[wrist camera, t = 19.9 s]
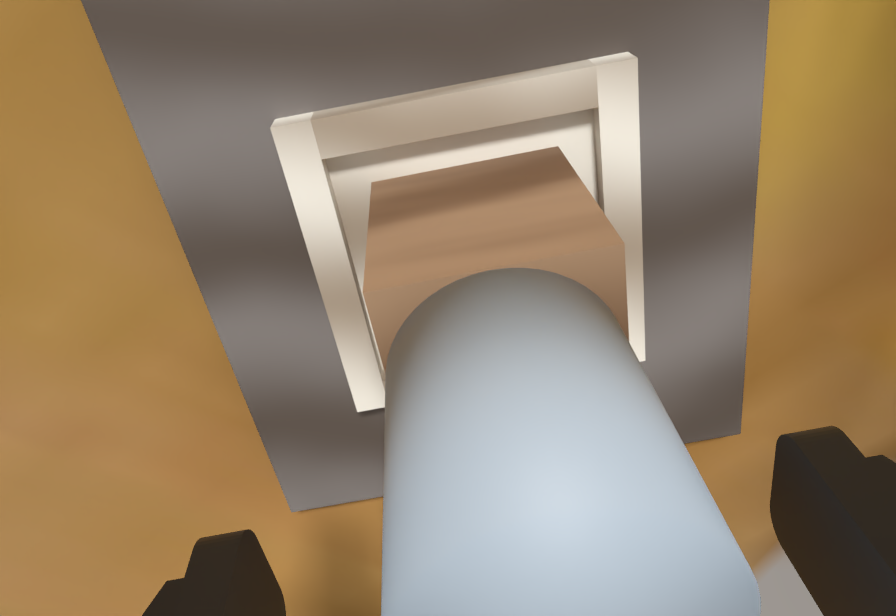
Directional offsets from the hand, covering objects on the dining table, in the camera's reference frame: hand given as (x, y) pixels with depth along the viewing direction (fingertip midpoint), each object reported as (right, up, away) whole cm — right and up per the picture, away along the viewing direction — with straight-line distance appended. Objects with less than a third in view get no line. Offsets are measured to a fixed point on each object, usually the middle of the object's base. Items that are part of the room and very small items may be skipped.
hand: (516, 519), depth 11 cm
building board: (0, +6, +10) cm, 11 cm away
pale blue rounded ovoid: (0, +2, +4) cm, 4 cm away
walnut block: (0, +5, +9) cm, 10 cm away
